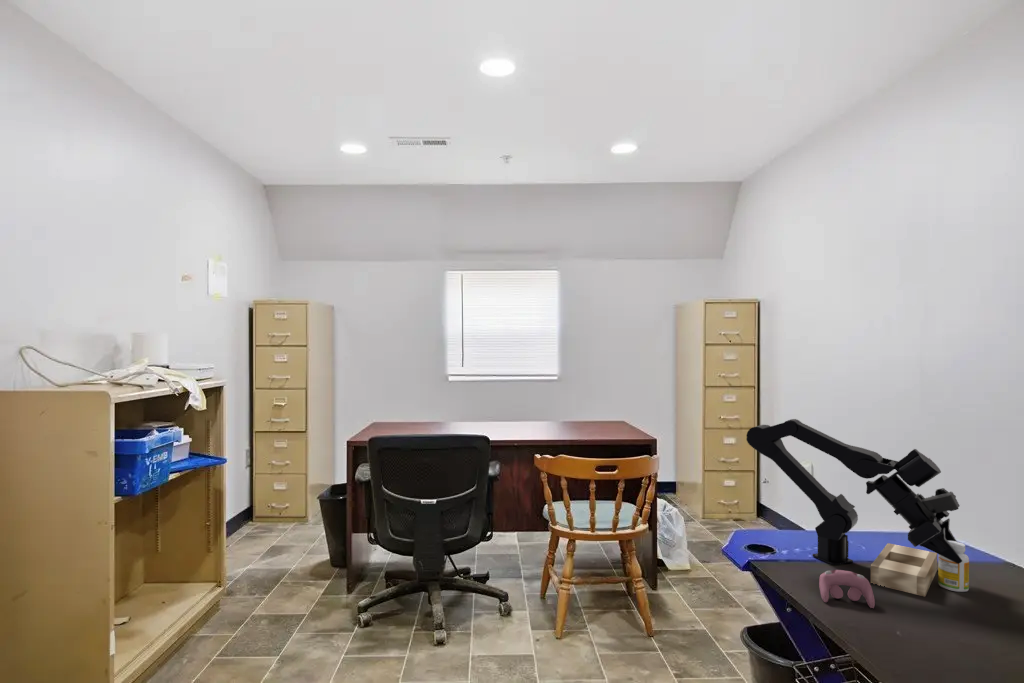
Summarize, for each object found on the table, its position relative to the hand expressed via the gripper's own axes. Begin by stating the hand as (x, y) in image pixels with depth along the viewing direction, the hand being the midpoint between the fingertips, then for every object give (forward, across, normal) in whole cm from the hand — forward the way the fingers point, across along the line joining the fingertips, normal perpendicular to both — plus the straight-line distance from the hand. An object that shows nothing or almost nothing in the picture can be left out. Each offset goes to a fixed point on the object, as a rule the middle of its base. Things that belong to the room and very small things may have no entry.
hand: (961, 558), depth 127 cm
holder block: (-2, 0, +12) cm, 12 cm away
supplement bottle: (+4, 0, +6) cm, 7 cm away
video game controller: (-7, -24, +17) cm, 30 cm away
